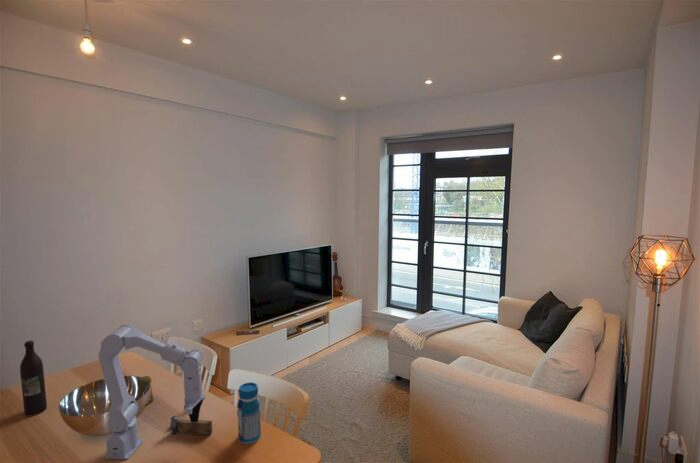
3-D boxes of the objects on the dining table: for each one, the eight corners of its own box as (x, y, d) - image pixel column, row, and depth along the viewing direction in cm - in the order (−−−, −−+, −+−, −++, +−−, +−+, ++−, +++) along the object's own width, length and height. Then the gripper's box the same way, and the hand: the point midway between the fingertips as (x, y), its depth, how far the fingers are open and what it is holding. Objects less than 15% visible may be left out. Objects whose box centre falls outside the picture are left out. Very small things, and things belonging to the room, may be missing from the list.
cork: (156, 398, 161) (155, 374, 160) (147, 406, 155) (146, 381, 154) (143, 397, 162) (142, 373, 160) (134, 405, 156) (132, 380, 154)
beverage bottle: (251, 447, 131) (249, 395, 129) (233, 440, 135) (231, 389, 132) (265, 433, 139) (264, 384, 136) (248, 427, 142) (247, 378, 140)
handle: (177, 433, 138) (176, 422, 137) (179, 430, 139) (178, 419, 139) (210, 434, 137) (210, 423, 137) (212, 431, 139) (211, 420, 138)
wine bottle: (20, 414, 148) (12, 344, 145) (38, 404, 155) (31, 337, 152) (33, 417, 147) (26, 346, 143) (51, 407, 154) (44, 339, 150)
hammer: (176, 434, 137) (175, 420, 137) (165, 434, 138) (164, 419, 137) (202, 400, 159) (201, 387, 159) (193, 400, 160) (192, 387, 159)
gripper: (200, 396, 124) (201, 433, 125) (209, 374, 138) (210, 408, 140) (177, 397, 122) (179, 435, 124) (189, 375, 137) (190, 409, 138)
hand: (194, 421), depth 132 cm, fingers closed
